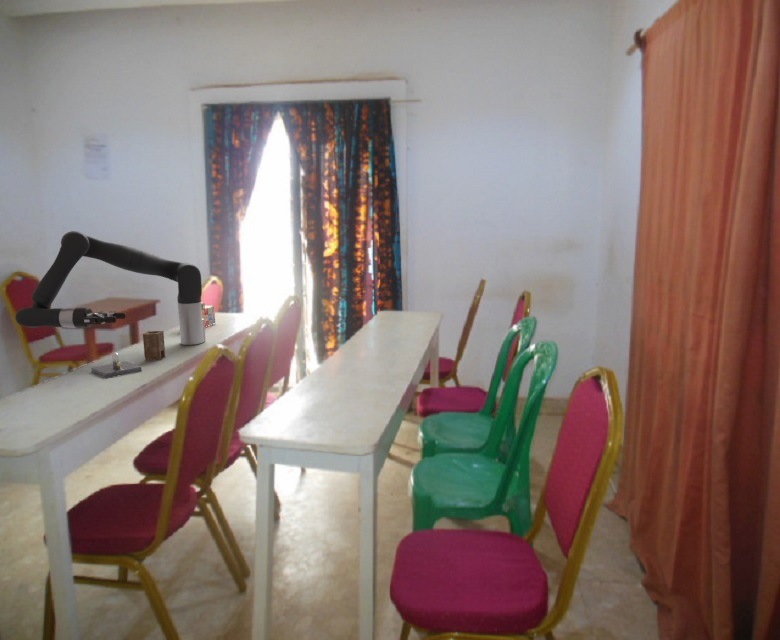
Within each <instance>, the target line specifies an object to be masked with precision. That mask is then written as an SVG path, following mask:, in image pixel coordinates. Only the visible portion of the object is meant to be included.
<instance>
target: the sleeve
mask: <svg viewBox="0 0 780 640" xmlns="http://www.w3.org/2000/svg"><path fill="white" fill-rule="evenodd" d="M164 334H165V333H164V330H148V331H146V332H144V333H142V340H143V341H142V342H143V352H144V354H143V355H144V361H162V358H166V347H165V336H164Z"/></svg>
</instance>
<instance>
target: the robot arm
mask: <svg viewBox="0 0 780 640" xmlns="http://www.w3.org/2000/svg"><path fill="white" fill-rule="evenodd" d="M60 245H61V246H60V248H59V251H58V253H57V256H56V257H55V259H54V262H53V263H52V265H50V268H48V270H47V272H46V273H45V274H44V276H42V279H40V281H39V283H38V284H37V286H36V288H35V289H34V291H33V293H32V294H31V300H32V301H33V303H32V305H31V307H23V308H20V309H19V310H18V311H17V312H16V313H15V317H14V318H15V321H16V323H17V324H18V325H19V326H22V327H23V328H31V329H33V328H34V329H37V328H40V327H50V328H67V329H88V328H89V329H90V328H91V327H92V326H93V325H104V324H108V323H109V324H110V323H111V324H116V323H117V322H118V321H117V320H120V319H121V320H123V319H124V320H125V319H126V318H127V313H126V312H117V311H116V310H114V311H113V310H112V311H102V310H101V311H95V312H93V310H92V309H91V308H90V307H64V308H63V307H62V308H60V307H58V308H57V307H55V308H54V307H53V308H52V307H51V306H52V303H53V302H54V301H55V299H56V297H57V296H58V294H59V292H60V291H61V289H62V288H63V285H64V283H65V281H66V280H67V278H68V276H69V274H70V273H71V272H72V270H73V269H74V268H75V266H76V264H77V263H78V262H79V261H80V260H81V258H83V257H85V258H88V259H89V258H91V259H94V260H95V259H96V260H99V261H102V262H105V263H107V264H108V265H111V266H114V267H117V268H119V269H122V270H125V271H128V272H129V271H130V272H133V273H136V274H142V275H149V276H155V277H156V276H158V277H161V278H165V279H169V280H171V281H174V282H176V283H177V288H178V289H177V290H178V292H177V293H178V294H177V297H176V298H177V309H178V310H177V311H178V322H179V324H178V325H179V336H180V339H179V340H180V344H181V345H183V346H184V345H185V346H186V345H187V346H189V345H190V346H191V345H192V346H193V345H199V344H202V343H204V342H206V328H205V325H204V319H202V307H201V302H202V296H203V294H202V292H203V290H202V289H203V288H202V275H201V273H202V272H201V271H200V268H199V267H198V266H196V265H194V264H191V263H188V262H181V261H175V260H170V259H166V258H163V257H160V256H158V255H156V254H154V253H151V252H149V251H146V250H143V249H140V248H136V247H133V246H129V245H123V244H119V243H114V242H113V243H112V242H107V241H104V240H100V239H97V238H95V237H92V236H89V235H86V234H84V233H82V232H80V231H76V230H75V231H74V230H71V231H68V232H66V233H65V234H63V236H62V237H61V239H60ZM111 315H112V316H111Z"/></svg>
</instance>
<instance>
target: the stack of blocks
mask: <svg viewBox="0 0 780 640" xmlns="http://www.w3.org/2000/svg"><path fill="white" fill-rule="evenodd" d="M201 307H202V319H204V325H205V327H206V326H208V325H211V324H213V323H215V324H216V312H215V305H206V304H205V302H202V301H201ZM211 326H212V325H211ZM206 328H207V327H206Z"/></svg>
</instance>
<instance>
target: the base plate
mask: <svg viewBox="0 0 780 640" xmlns="http://www.w3.org/2000/svg"><path fill="white" fill-rule="evenodd" d="M111 359H112V363H110V364H104V365H97V366H94V367H93V366H91V367H90V370H91V373H93V372H94V373H93V374H95V373H96V375H97V374H98V376H99V377H102V376H103V377H102V378H104V377H105V378H104V379H109V378H108V377H110V378H113V376H115V377H118V375H120V376H125V375H129V374H134V373H138V371H139V372H142V366H141V365H137V364H134V363H132V362H131V361H130V362H129V361H125V360H124V361H119V353H118V352H112V354H111Z"/></svg>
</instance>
